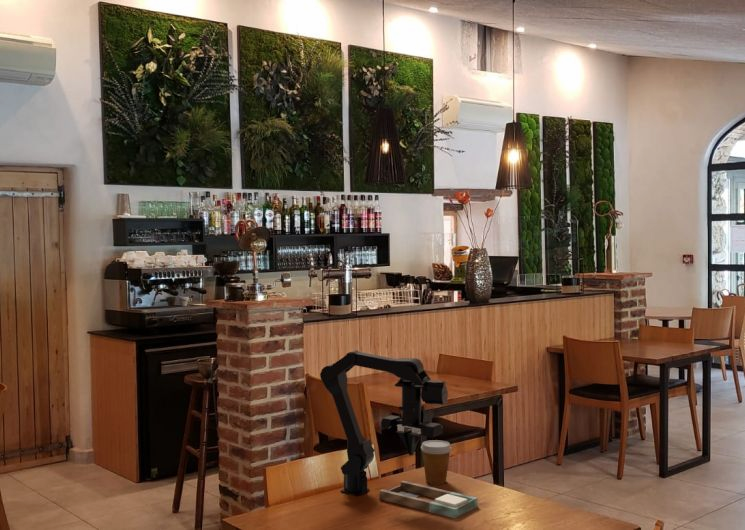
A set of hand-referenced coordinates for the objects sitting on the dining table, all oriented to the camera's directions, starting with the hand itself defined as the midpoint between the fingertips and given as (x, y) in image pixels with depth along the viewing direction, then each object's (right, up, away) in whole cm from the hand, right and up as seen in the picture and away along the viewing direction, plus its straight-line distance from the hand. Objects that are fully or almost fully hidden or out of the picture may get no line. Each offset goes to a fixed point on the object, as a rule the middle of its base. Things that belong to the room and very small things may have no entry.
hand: (411, 455), depth 239 cm
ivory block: (+11, -14, -9) cm, 20 cm away
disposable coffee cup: (+9, -12, +17) cm, 22 cm away
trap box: (+5, -13, -3) cm, 14 cm away
